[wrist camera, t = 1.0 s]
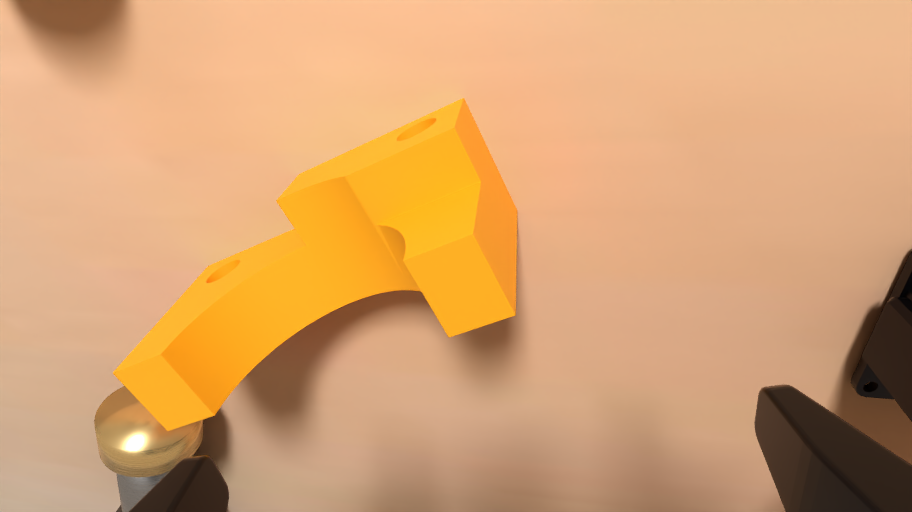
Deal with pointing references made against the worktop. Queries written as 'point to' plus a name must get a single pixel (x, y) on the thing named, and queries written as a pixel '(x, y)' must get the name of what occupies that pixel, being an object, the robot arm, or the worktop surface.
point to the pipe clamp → (342, 262)
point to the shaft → (139, 445)
